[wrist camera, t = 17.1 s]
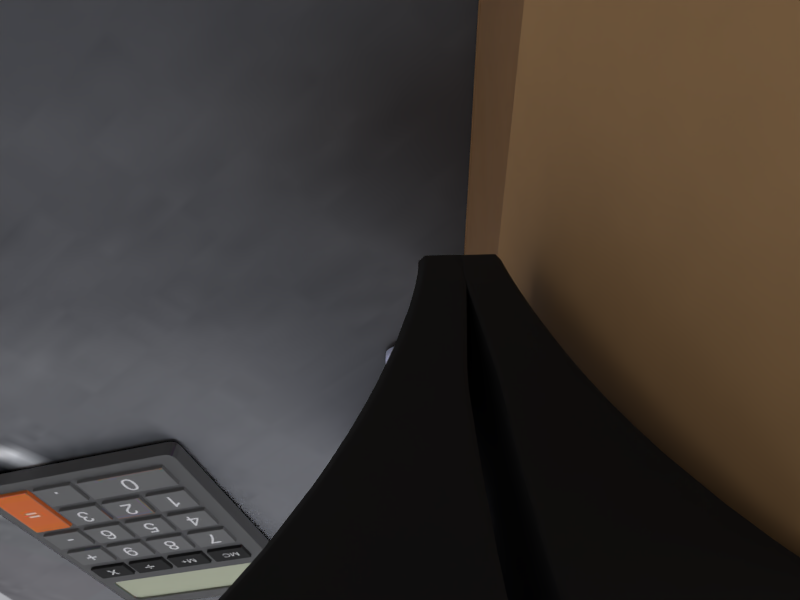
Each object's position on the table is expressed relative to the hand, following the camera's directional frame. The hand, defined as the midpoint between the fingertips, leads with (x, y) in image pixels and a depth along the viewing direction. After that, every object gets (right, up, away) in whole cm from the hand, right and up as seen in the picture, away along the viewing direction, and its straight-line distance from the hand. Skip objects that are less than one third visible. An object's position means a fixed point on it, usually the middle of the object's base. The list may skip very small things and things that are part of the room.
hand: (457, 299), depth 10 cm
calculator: (-15, -13, +23) cm, 31 cm away
